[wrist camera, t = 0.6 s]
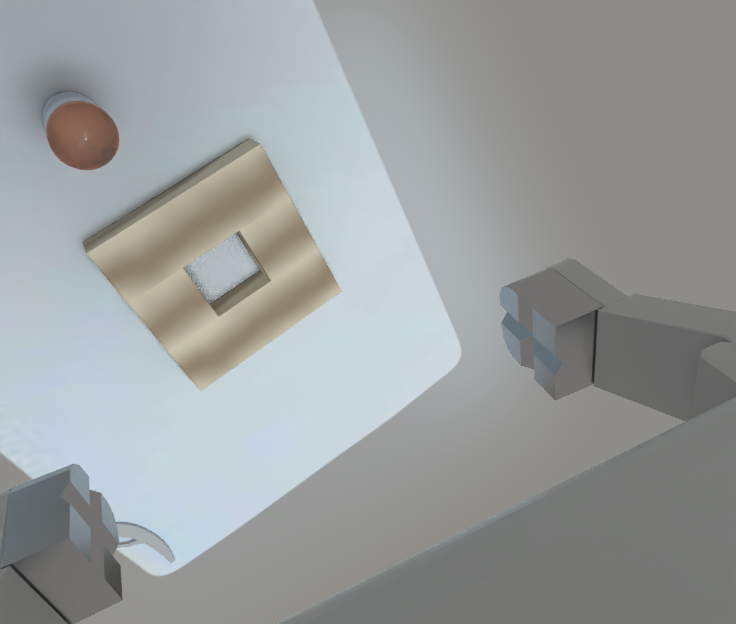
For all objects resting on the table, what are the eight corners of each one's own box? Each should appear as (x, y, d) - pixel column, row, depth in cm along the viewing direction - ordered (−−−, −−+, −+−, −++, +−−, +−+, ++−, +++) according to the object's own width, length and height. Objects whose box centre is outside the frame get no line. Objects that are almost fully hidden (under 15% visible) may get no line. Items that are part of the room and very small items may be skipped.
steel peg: (27, 108, 44) (31, 124, 37) (78, 80, 45) (91, 89, 38) (65, 158, 46) (76, 182, 39) (113, 130, 47) (132, 148, 40)
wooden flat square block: (82, 242, 49) (86, 253, 47) (248, 138, 52) (260, 143, 50) (192, 376, 58) (200, 391, 56) (328, 280, 61) (341, 291, 59)
